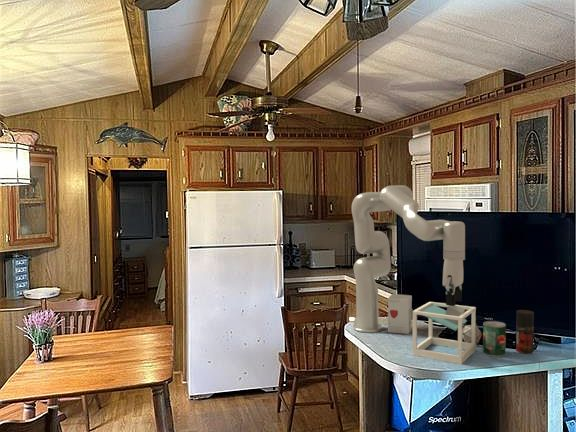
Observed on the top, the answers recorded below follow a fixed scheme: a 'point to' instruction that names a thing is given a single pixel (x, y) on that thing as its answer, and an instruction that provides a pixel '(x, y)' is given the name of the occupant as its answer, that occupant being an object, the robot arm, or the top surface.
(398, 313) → the supplement box
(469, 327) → the game die
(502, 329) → the canned tomato
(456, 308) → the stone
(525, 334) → the deodorant
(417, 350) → the frame
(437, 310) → the trapdoor
